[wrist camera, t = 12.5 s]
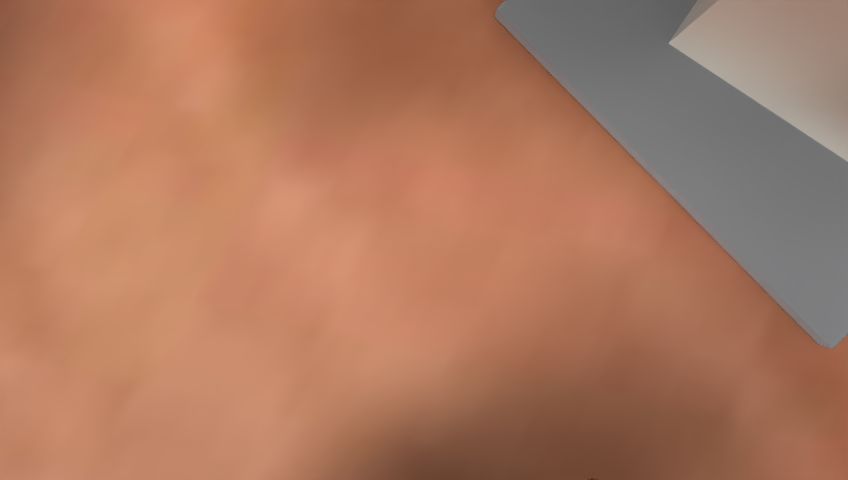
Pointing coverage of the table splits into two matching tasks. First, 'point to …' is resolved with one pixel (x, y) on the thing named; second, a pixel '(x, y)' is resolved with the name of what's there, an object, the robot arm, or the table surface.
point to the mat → (705, 146)
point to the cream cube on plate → (778, 58)
